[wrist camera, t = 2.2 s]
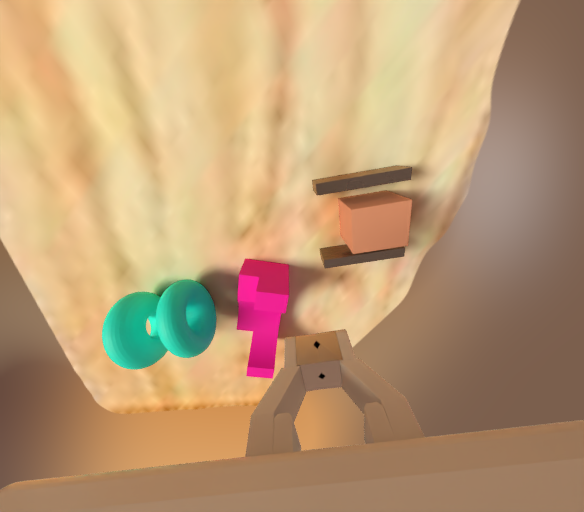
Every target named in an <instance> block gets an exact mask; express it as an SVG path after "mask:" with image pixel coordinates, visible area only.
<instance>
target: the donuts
mask: <svg viewBox="0 0 584 512" xmlns="http://www.w3.org/2000/svg"><path fill="white" fill-rule="evenodd" d="M147 318H148V319H149V321H150V324H151V334H150V335H149V334H148V333H147V331H146V321H147ZM215 330H216V310H215V306H214V302H213V300H212V298H211V296H210V294H209V292H208V291H207V290H206V288H205V287H204V286H203V285H201V284H200V283H198V282H196V281H193V280H180V281H177V282H175V283H173V284H172V285H170V286H169V287H168V288H167V289H166V290H165V291H164V293H163V294H162V296H161V297H160V296H158V295H156V294H153V293H149V292H136V293H132V294H129V295H127V296H125V297H123V298H122V299H120V300H119V301H118V302H117V303H115V305H114V306H113V307H112V308H111V309H110V311H109V312H108V314H107V316H106V318H105V321H104V325H103V330H102V339H103V345H104V348H105V351H106V353H107V354H108V356H109V357H110V359H111V360H112V361H113V362H115V363H116V364H117V365H119V366H121V367H123V368H127V369H142V368H146V367H148V366H150V365H153V364H154V363H156V362H157V361H158V360H160V359H161V358H162V357H163V356H164V355H165V353H166V352H167V351H168V350H169V351H170V352H171V353H172V354H174V355H176V356H179V357H183V358H190V357H194V356H197V355H199V354H201V353H202V352H203V351H205V350H206V349H207V347H208V346H209V345H210V343H211V341H212V339H213V337H214V334H215Z"/></svg>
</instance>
